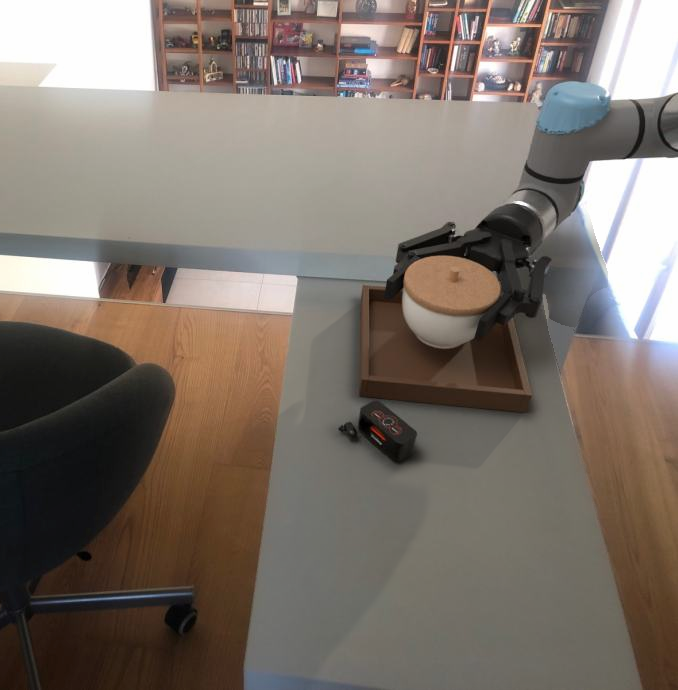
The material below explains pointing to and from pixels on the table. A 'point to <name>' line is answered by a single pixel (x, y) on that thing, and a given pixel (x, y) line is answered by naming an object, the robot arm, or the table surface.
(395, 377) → the tray
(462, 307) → the trinket box
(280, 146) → the table surface
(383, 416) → the wireless earbuds
